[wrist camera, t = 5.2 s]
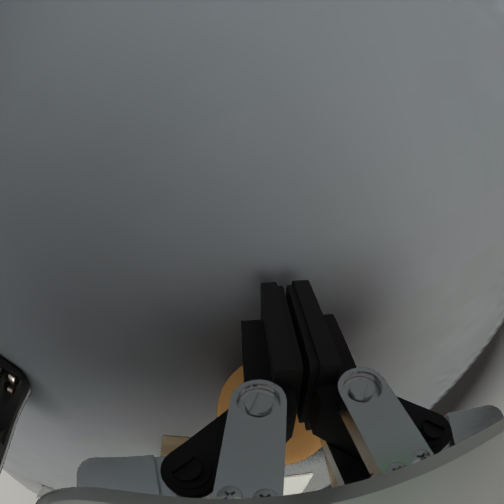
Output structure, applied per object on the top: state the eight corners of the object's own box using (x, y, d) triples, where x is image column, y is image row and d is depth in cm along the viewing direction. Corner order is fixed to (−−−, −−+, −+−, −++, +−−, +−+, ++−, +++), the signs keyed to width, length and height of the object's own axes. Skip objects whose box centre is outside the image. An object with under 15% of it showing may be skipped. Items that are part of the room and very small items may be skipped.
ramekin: (70, 499, 43) (68, 513, 38) (36, 483, 39) (33, 496, 34) (82, 501, 40) (80, 516, 35) (44, 483, 36) (40, 498, 31)
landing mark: (200, 479, 23) (200, 480, 22) (313, 472, 23) (313, 473, 23) (213, 500, 28) (213, 501, 28) (298, 495, 29) (298, 496, 28)
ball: (221, 492, 8) (230, 450, 13) (359, 467, 8) (326, 434, 13) (198, 365, 10) (216, 360, 15) (344, 342, 10) (313, 345, 15)
